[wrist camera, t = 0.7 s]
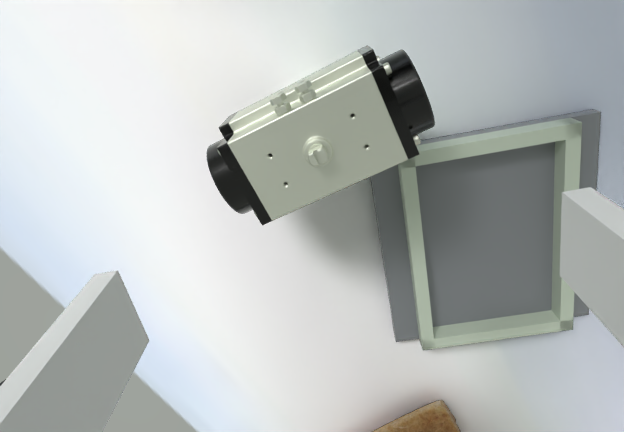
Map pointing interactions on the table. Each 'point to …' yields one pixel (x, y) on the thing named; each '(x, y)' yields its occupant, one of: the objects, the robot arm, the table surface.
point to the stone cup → (424, 420)
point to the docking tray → (484, 230)
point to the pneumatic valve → (321, 134)
